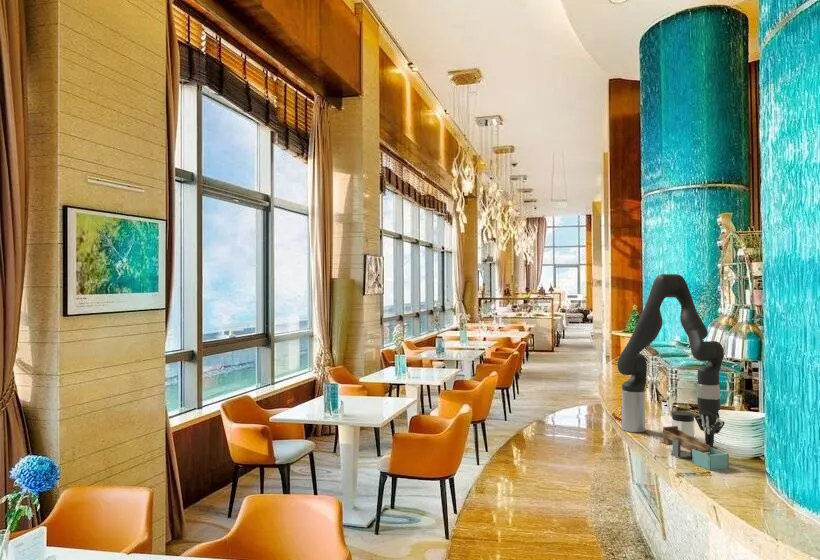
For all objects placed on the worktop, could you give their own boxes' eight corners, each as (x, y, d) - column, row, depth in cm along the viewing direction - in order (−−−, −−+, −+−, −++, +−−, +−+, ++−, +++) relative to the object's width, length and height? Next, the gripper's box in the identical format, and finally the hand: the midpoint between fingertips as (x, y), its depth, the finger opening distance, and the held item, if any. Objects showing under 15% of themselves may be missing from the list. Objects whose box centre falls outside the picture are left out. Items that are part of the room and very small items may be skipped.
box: (692, 463, 219) (692, 449, 219) (710, 461, 221) (710, 447, 221) (709, 470, 211) (709, 455, 211) (728, 468, 213) (728, 453, 213)
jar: (690, 440, 250) (689, 410, 250) (699, 445, 242) (698, 415, 241) (667, 440, 250) (667, 411, 250) (676, 446, 242) (676, 415, 242)
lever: (662, 443, 237) (663, 427, 236) (684, 441, 239) (685, 425, 238) (694, 461, 219) (696, 444, 219) (718, 459, 222) (719, 442, 221)
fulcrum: (670, 455, 230) (670, 437, 230) (691, 452, 232) (691, 435, 232) (679, 458, 225) (679, 441, 225) (700, 456, 227) (700, 439, 227)
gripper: (687, 394, 229) (688, 440, 229) (713, 400, 216) (714, 449, 216) (704, 392, 231) (705, 439, 231) (731, 398, 218) (732, 447, 218)
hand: (709, 444), depth 223 cm, fingers closed
